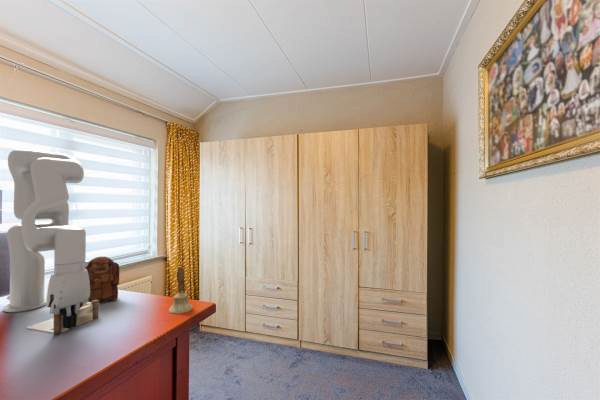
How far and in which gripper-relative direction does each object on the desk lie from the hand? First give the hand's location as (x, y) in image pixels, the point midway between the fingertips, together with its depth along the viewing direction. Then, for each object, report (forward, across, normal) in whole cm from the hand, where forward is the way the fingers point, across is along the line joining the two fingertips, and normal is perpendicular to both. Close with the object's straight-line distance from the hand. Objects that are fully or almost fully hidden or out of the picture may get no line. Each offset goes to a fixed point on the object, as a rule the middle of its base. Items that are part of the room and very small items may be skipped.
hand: (69, 327), depth 87 cm
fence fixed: (+1, -10, -8) cm, 13 cm away
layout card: (+1, -3, -10) cm, 10 cm away
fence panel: (+1, -3, -2) cm, 4 cm away
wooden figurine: (+2, -23, -15) cm, 28 cm away
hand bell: (+2, -25, +21) cm, 32 cm away
